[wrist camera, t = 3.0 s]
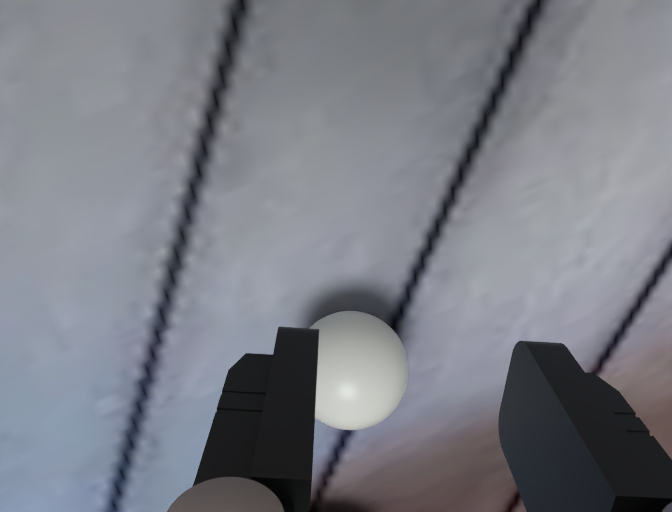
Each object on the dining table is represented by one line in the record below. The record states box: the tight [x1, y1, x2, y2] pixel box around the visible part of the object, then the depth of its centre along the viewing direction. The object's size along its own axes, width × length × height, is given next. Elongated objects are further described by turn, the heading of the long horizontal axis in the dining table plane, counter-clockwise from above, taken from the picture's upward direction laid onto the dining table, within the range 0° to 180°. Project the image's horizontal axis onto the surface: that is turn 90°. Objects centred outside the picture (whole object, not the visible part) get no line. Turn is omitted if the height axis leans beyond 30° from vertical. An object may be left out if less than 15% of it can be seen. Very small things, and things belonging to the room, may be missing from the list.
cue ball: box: [309, 311, 409, 430], centre depth 27 cm, size 6×6×6 cm
